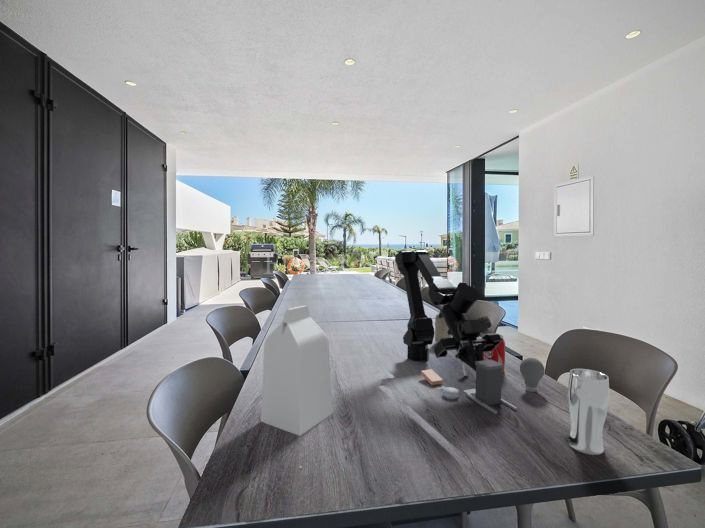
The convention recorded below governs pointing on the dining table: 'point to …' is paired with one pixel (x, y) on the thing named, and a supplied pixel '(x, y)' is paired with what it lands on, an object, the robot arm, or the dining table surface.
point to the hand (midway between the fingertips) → (482, 374)
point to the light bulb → (531, 373)
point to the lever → (465, 368)
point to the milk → (296, 374)
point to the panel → (454, 394)
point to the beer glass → (587, 409)
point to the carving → (440, 329)
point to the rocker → (431, 377)
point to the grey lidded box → (488, 381)
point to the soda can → (496, 353)
